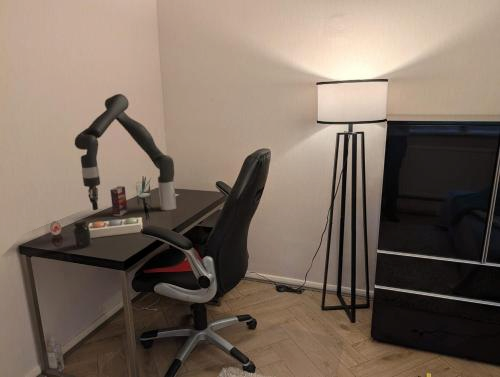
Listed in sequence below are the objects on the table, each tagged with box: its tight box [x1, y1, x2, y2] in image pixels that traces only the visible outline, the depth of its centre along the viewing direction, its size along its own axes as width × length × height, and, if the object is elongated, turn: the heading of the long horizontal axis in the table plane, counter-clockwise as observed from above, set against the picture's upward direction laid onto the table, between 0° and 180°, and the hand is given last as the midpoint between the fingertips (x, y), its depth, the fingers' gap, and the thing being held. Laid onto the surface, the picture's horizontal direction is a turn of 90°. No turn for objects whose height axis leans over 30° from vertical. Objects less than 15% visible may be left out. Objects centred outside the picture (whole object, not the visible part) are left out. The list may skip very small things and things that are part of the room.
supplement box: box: [110, 185, 129, 217], centre depth 210 cm, size 9×5×16 cm, turn 168°
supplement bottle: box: [72, 219, 92, 249], centre depth 164 cm, size 7×7×12 cm
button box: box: [87, 217, 143, 239], centre depth 182 cm, size 26×12×4 cm, turn 105°
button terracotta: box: [91, 220, 105, 228], centre depth 180 cm, size 6×6×3 cm
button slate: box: [108, 219, 121, 227], centre depth 182 cm, size 6×6×3 cm
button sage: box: [125, 217, 138, 225], centre depth 184 cm, size 6×6×3 cm
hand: (95, 209), depth 178 cm, fingers closed
